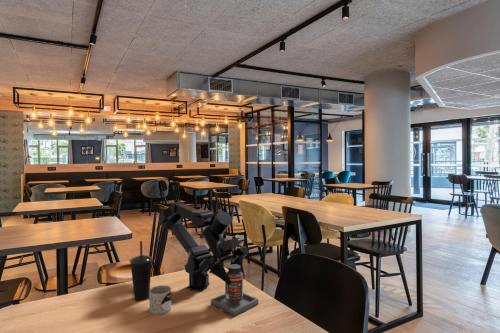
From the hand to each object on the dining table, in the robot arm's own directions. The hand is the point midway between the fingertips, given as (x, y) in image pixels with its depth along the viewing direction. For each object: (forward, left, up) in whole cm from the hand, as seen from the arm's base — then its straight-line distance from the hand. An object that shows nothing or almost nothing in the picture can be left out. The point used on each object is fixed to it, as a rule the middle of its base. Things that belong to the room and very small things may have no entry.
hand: (237, 281), depth 105 cm
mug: (-23, -8, -9) cm, 26 cm away
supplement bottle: (-1, +1, -7) cm, 7 cm away
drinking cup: (-34, -4, -8) cm, 35 cm away
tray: (-1, +1, -8) cm, 8 cm away
